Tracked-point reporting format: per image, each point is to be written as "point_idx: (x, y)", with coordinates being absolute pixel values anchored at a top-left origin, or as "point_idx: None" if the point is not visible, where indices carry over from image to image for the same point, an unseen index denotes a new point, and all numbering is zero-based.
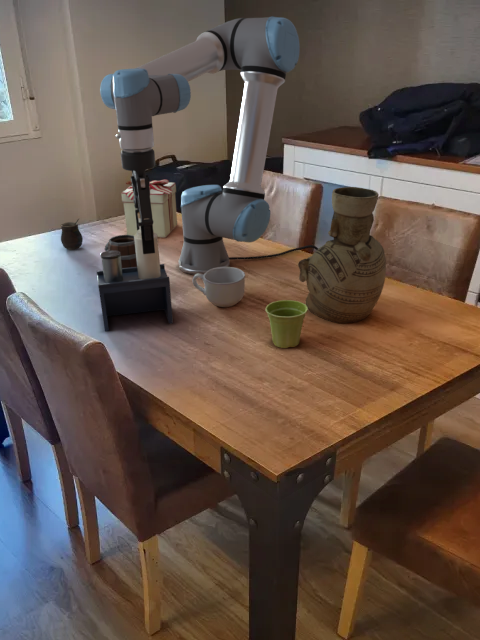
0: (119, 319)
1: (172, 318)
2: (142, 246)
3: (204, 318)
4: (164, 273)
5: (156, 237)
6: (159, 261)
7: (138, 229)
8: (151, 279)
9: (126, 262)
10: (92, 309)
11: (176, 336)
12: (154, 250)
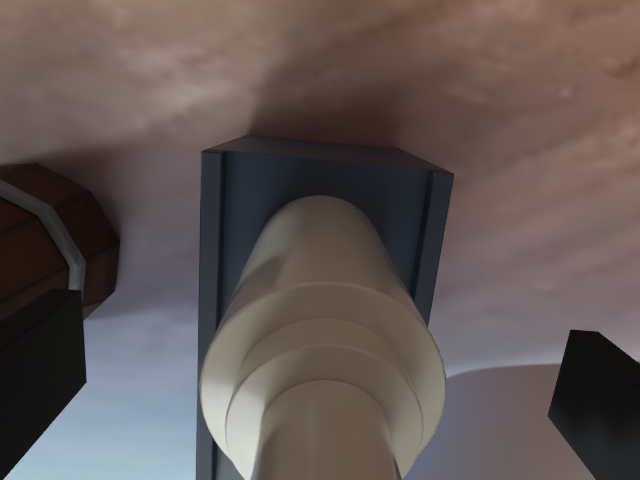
0: None
1: (402, 150)
2: (588, 459)
3: (404, 9)
4: (309, 169)
5: (398, 300)
6: (350, 220)
7: (45, 415)
8: (435, 274)
9: (1, 318)
10: (171, 391)
11: (512, 161)
12: (610, 345)
